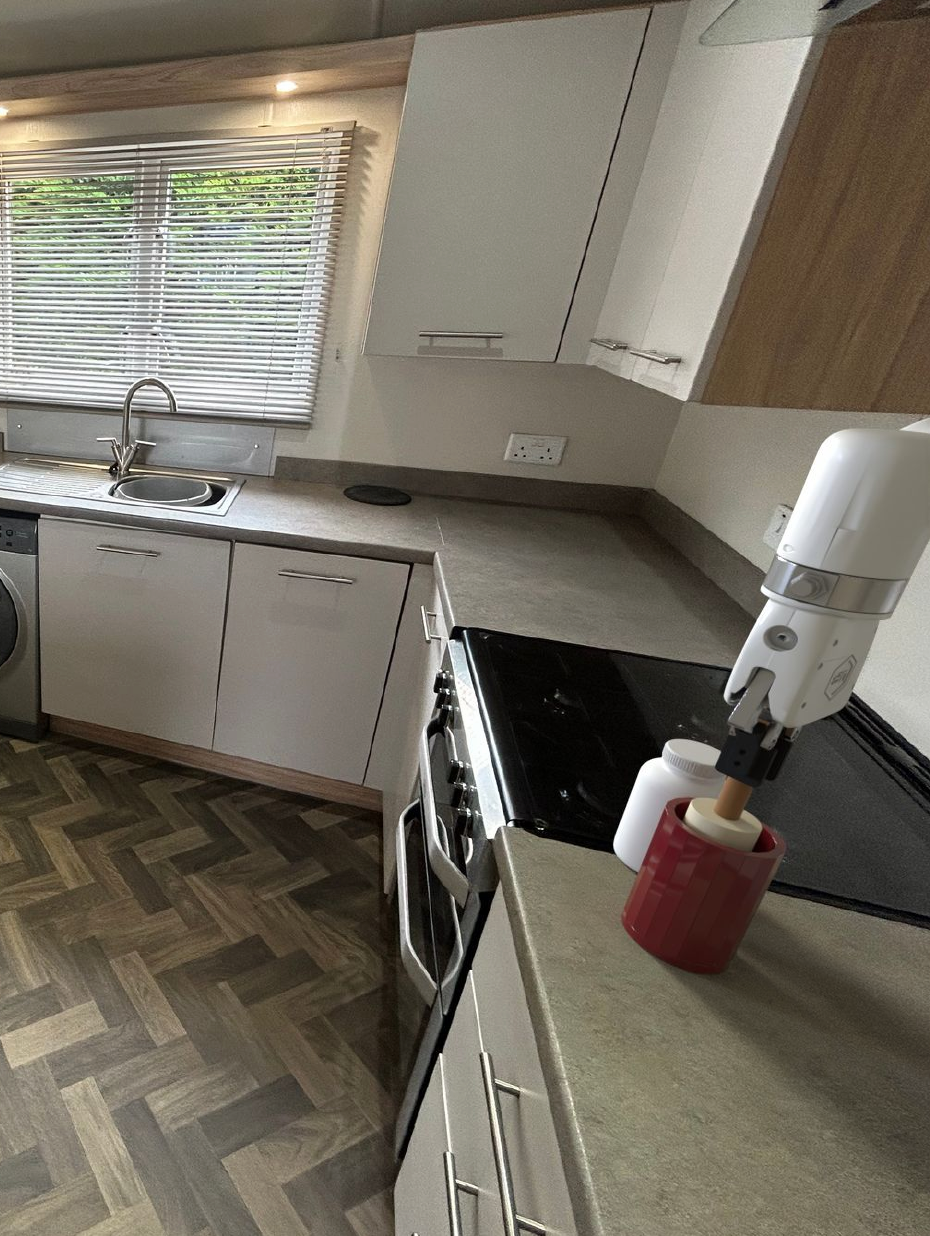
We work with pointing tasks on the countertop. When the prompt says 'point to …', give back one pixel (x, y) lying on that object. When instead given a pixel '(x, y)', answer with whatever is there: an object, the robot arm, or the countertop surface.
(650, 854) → the red faceted pen holder
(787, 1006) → the countertop surface
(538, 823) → the countertop surface
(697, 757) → the pill bottle
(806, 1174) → the countertop surface
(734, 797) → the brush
